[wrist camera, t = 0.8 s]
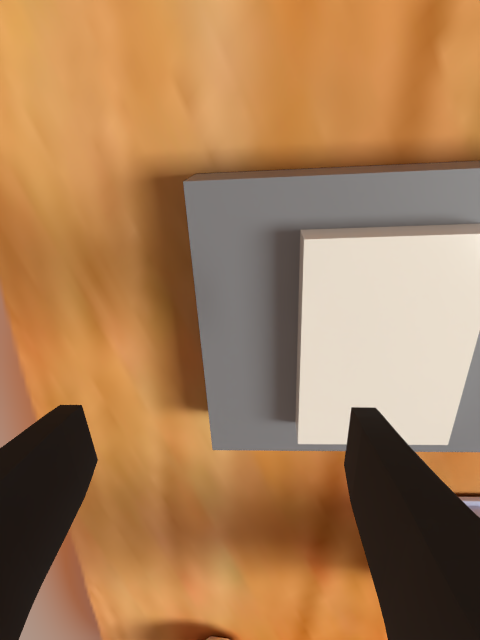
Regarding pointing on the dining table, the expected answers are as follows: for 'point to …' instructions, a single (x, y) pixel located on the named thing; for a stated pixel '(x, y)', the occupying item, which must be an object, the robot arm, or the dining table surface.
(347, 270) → the tile
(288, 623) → the dining table surface
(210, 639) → the geometric ball
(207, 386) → the block
